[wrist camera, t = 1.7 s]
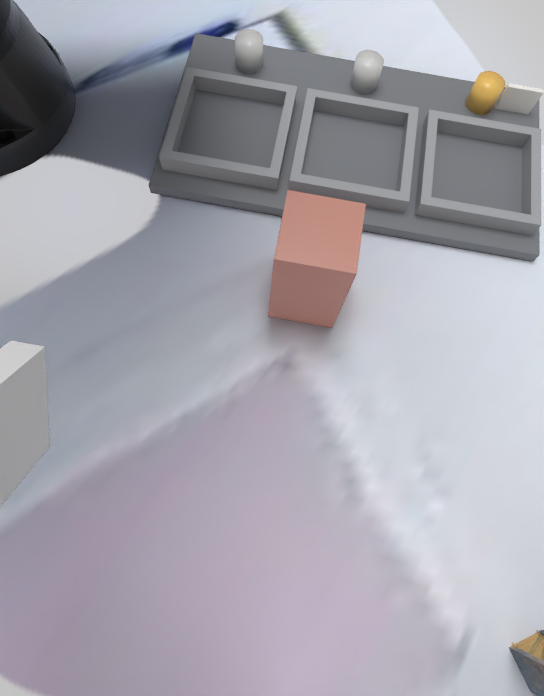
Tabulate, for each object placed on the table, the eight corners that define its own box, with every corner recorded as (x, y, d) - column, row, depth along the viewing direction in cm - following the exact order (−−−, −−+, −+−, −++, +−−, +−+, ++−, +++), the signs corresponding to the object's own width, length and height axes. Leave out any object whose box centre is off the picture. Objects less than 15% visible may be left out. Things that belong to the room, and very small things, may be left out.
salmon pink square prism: (268, 316, 38) (274, 259, 30) (279, 259, 40) (287, 189, 31) (331, 327, 38) (356, 273, 30) (340, 270, 40) (365, 203, 31)
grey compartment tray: (151, 192, 41) (142, 165, 38) (196, 43, 47) (192, 8, 43) (532, 261, 41) (557, 239, 38) (533, 102, 46) (554, 71, 43)
